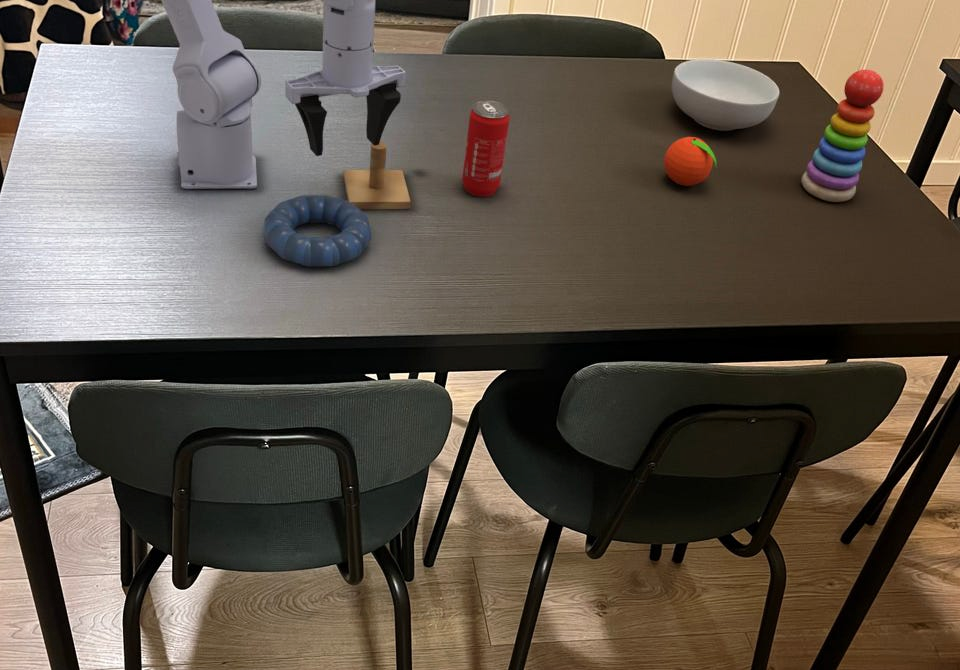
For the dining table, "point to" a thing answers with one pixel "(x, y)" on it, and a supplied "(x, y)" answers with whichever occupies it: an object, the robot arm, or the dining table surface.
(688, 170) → the clementine
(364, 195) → the stand
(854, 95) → the stacking toy
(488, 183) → the beverage can
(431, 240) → the dining table surface
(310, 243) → the ring
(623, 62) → the dining table surface
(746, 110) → the cereal bowl
